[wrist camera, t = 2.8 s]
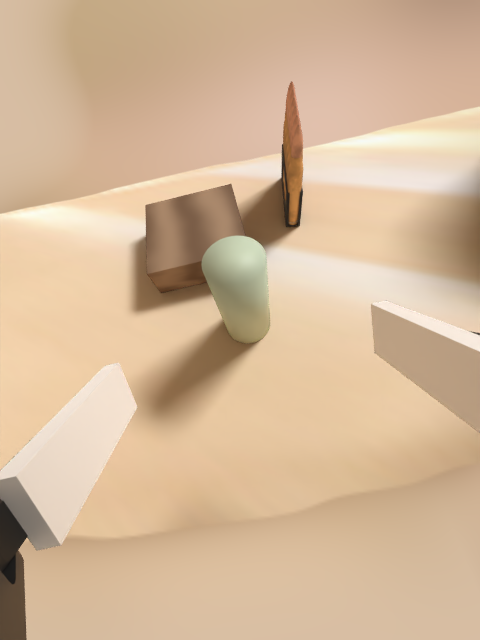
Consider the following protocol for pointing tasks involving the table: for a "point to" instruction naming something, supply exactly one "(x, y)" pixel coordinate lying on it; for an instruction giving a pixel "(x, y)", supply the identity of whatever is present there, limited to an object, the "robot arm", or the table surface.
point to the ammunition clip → (292, 161)
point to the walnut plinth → (188, 235)
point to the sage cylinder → (239, 286)
